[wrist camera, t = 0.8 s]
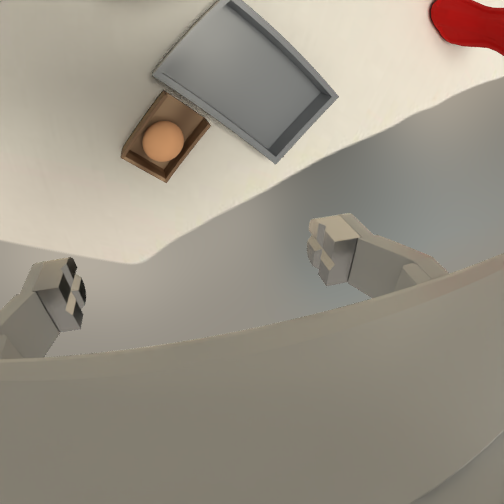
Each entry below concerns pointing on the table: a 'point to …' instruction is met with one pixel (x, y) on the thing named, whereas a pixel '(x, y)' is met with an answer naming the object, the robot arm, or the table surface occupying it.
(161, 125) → the ball
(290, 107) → the tray
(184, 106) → the small wooden box
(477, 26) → the water bottle
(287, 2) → the table surface
